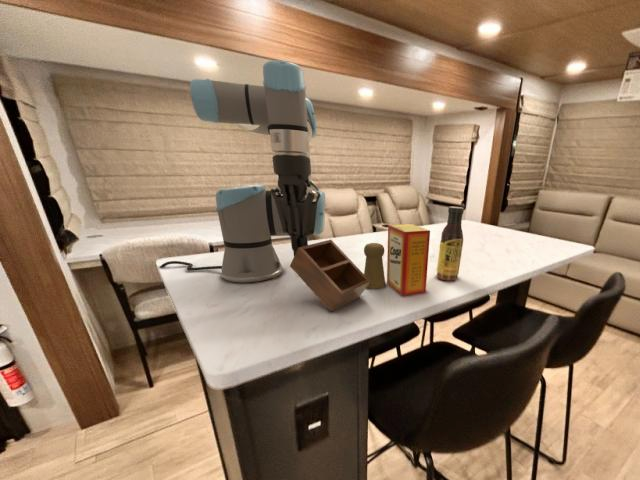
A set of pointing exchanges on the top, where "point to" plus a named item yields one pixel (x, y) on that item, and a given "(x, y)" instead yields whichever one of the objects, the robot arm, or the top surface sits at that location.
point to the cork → (374, 265)
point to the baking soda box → (407, 258)
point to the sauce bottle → (451, 246)
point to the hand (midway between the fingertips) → (301, 264)
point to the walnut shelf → (329, 273)
